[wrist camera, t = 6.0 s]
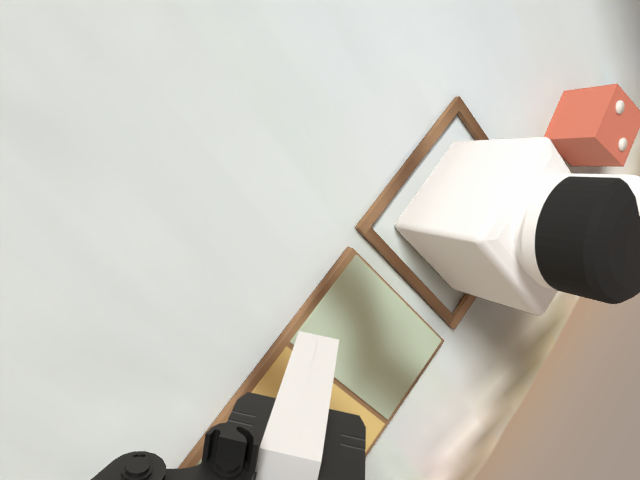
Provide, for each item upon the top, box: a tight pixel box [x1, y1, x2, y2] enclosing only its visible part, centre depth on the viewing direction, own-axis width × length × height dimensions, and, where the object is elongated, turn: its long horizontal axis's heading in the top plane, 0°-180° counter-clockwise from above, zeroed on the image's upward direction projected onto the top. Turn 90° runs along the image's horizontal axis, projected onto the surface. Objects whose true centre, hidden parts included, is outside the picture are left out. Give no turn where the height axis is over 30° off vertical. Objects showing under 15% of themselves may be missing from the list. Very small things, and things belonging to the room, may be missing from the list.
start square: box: [355, 96, 489, 329], centre depth 33 cm, size 11×11×1 cm
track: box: [178, 247, 444, 469], centre depth 29 cm, size 20×10×1 cm, turn 137°
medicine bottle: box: [395, 137, 640, 315], centre depth 28 cm, size 7×7×12 cm
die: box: [544, 84, 640, 166], centre depth 35 cm, size 4×4×4 cm
